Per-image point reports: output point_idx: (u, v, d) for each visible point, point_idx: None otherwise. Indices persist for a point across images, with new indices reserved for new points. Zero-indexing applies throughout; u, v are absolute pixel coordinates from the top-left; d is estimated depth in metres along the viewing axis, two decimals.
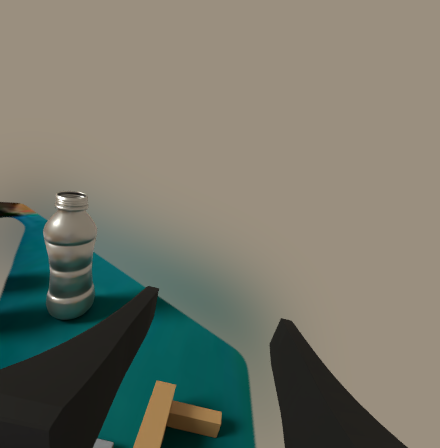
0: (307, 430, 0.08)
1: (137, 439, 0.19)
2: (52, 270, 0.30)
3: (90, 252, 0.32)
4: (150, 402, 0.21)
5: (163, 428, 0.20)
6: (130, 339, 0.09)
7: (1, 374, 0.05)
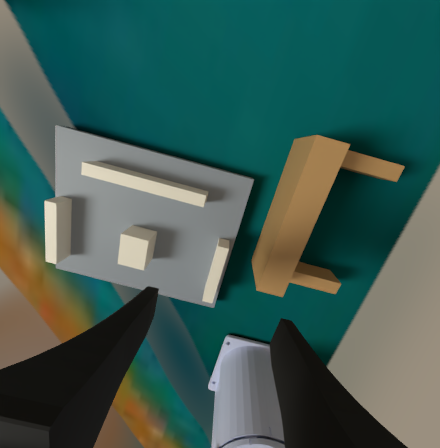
0: (307, 430, 0.08)
1: (288, 211, 0.15)
2: None
3: None
4: (305, 170, 0.14)
5: (322, 203, 0.14)
6: (130, 339, 0.09)
7: (1, 374, 0.05)
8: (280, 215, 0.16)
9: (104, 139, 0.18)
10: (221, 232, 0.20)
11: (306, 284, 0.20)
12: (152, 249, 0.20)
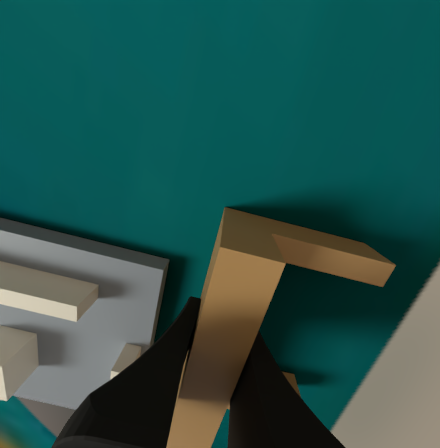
0: (243, 415, 0.08)
1: (191, 359, 0.08)
2: None
3: None
4: (208, 302, 0.07)
5: (247, 349, 0.08)
6: None
7: (99, 396, 0.05)
8: (191, 344, 0.10)
9: None
10: (128, 336, 0.13)
11: None
12: (29, 360, 0.14)
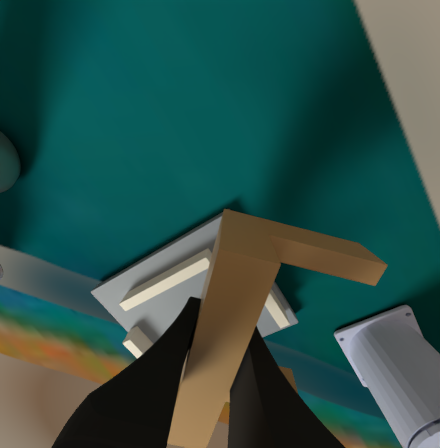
0: (243, 415, 0.08)
1: (192, 354, 0.09)
2: None
3: None
4: (208, 300, 0.08)
5: (244, 345, 0.09)
6: (186, 352, 0.09)
7: (99, 396, 0.05)
8: (191, 340, 0.10)
9: (120, 275, 0.21)
10: None
11: None
12: None
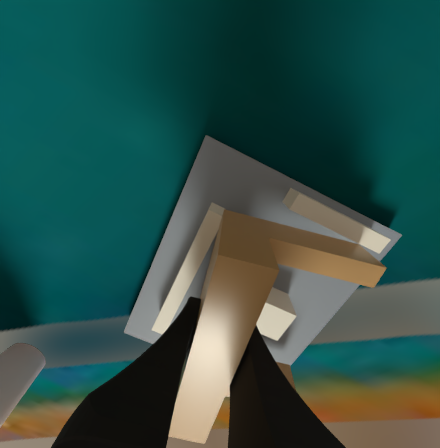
0: (243, 415, 0.08)
1: (191, 354, 0.09)
2: None
3: None
4: (207, 303, 0.08)
5: (243, 346, 0.09)
6: None
7: (98, 396, 0.05)
8: (191, 339, 0.11)
9: (139, 297, 0.16)
10: (274, 196, 0.13)
11: None
12: (273, 291, 0.15)
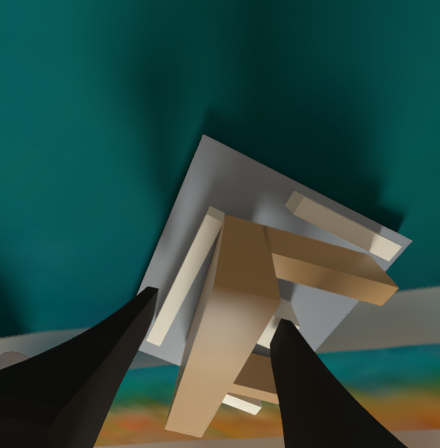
0: (307, 430, 0.08)
1: (187, 368, 0.09)
2: None
3: None
4: (203, 327, 0.08)
5: (239, 365, 0.09)
6: (130, 339, 0.09)
7: (1, 374, 0.05)
8: (188, 348, 0.10)
9: None
10: (276, 200, 0.12)
11: (248, 394, 0.15)
12: None
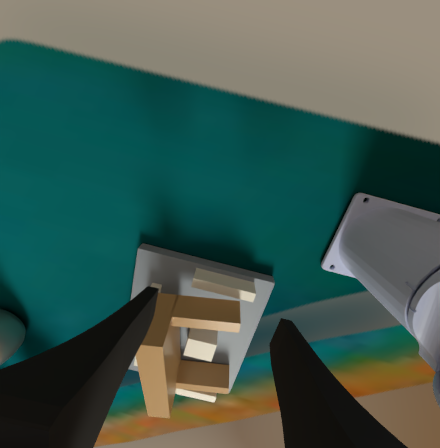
0: (307, 430, 0.08)
1: (142, 380, 0.18)
2: None
3: None
4: (138, 361, 0.17)
5: (164, 375, 0.17)
6: (130, 339, 0.09)
7: (1, 374, 0.05)
8: None
9: None
10: (188, 274, 0.21)
11: (201, 389, 0.23)
12: (205, 329, 0.23)
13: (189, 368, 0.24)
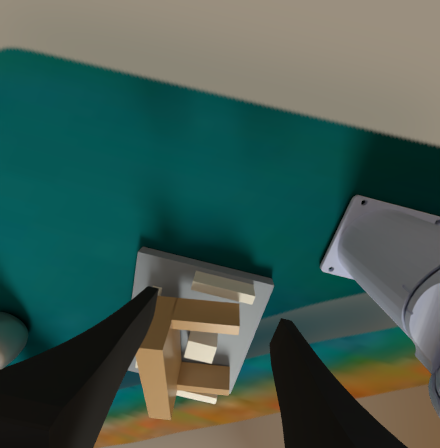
0: (307, 430, 0.08)
1: (142, 382, 0.18)
2: None
3: None
4: (138, 364, 0.17)
5: (164, 378, 0.18)
6: (130, 339, 0.09)
7: (1, 374, 0.05)
8: None
9: None
10: (188, 276, 0.21)
11: (202, 391, 0.23)
12: None
13: (189, 369, 0.25)
